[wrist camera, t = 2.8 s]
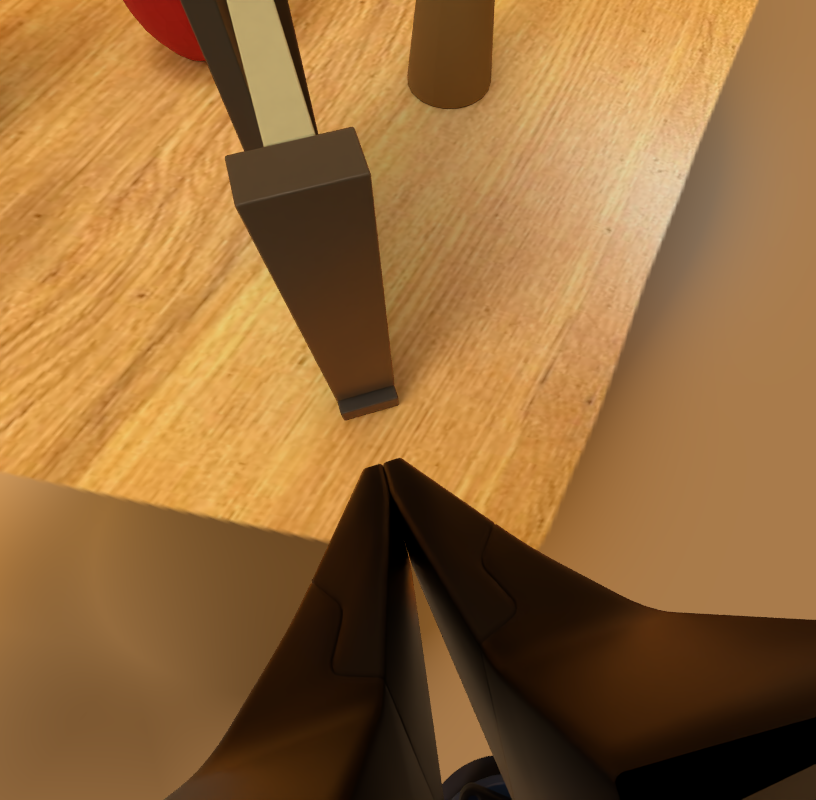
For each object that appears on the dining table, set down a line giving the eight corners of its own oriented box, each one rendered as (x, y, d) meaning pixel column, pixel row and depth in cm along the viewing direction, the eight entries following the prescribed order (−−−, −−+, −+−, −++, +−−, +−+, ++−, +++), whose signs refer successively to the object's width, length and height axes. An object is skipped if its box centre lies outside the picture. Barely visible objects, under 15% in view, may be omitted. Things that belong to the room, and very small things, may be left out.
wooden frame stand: (398, 405, 23) (376, 174, 9) (335, 423, 23) (203, 216, 8) (325, 169, 28) (237, -213, 14) (273, 182, 28) (129, -196, 14)
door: (394, 385, 22) (370, 173, 9) (337, 401, 21) (234, 206, 9) (348, 237, 25) (284, -72, 12) (297, 250, 24) (179, -52, 12)
